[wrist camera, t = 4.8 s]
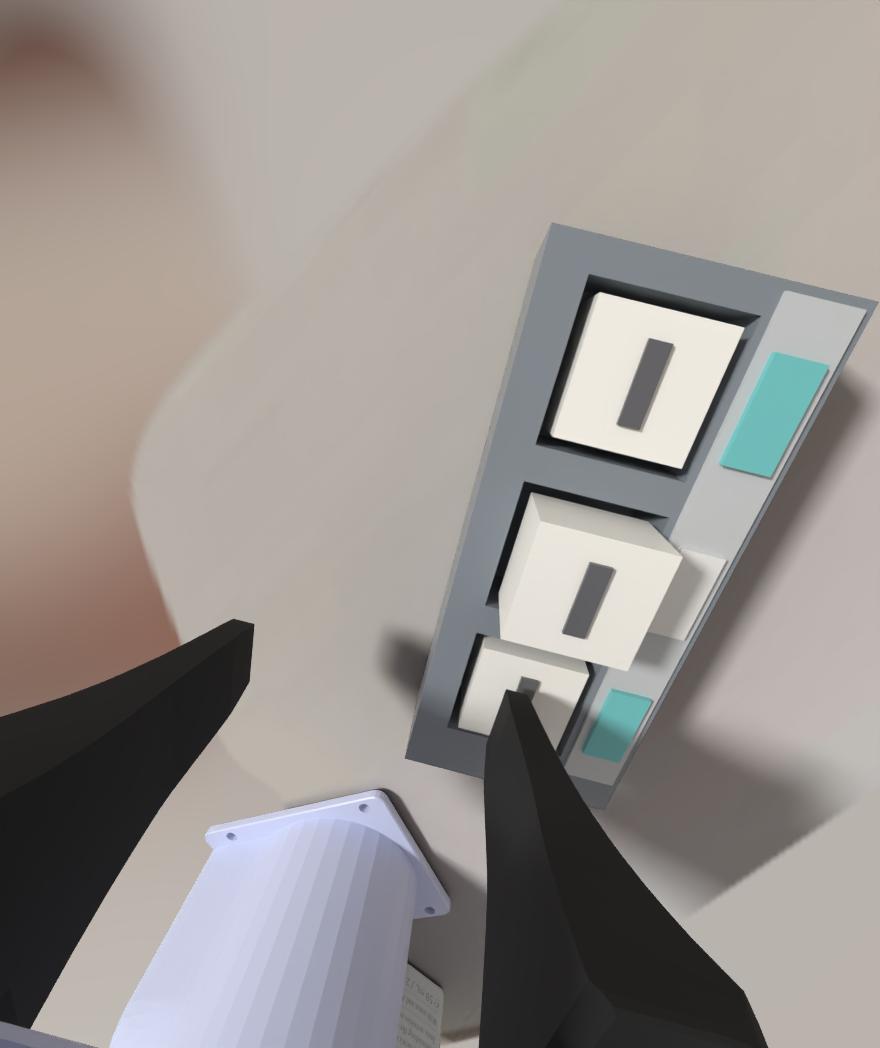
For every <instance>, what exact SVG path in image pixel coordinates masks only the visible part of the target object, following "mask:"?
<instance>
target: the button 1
mask: <svg viewBox="0 0 880 1048" xmlns="http://www.w3.org/2000/svg"><path fill="white" fill-rule="evenodd" d="M588 677H589V672H588V669H587V666H586V663H585V660H581V659H577V658H573V657H569V656H565V655H561V654H557V653H553V652H549V651H546V650H542V649H538V648H534V647H530V646H526V645H522V644H518V643H514V642H510V641H507V640H503V639H499V638H495V637H491V636H487V635H484V634H480V633H477V634H476V637H475V640H474V643H473V646H472V649H471V653H470V656H469V659H468V662H467V665H466V669H465V672H464V675H463V678H462V685H461V698H460V710H459V723H458V728H462V729H466V730H470V731H474V732H478V733H482V734H485V735H490V732H491V729H492V727H493V724H494V721H495V718H496V715H497V713H498V710H499V707H500V704H501V702H502V699H503V696H504V693H505V691H506V689H508V690H512V691H516V692H519V693H523V694H527V695H528V696H529V698H530V700H531V702H532V704H533V706H534V708H535V710H536V713H537V715H538V717H539V719H540V721H541V723H542V725H543V727H544V729H545V731H546V733H547V736H548V738H549V740H550V741H551V743H552V745H553V747H554V749H555V751H556V748H557V746H558V744H559V742H560V739H561V737H562V735H563V733H564V730H565V728H566V726H567V724H568V722H569V719H570V717H571V715H572V713H573V710H574V708H575V706H576V704H577V701H578V699H579V697H580V695H581V693H582V690H583V688H584V686H585V684H586V681H587V679H588Z"/></svg>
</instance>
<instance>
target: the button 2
mask: <svg viewBox="0 0 880 1048" xmlns="http://www.w3.org/2000/svg"><path fill="white" fill-rule="evenodd" d="M743 331H744V327H740V326H736V325H732V324H728V323H724V322H720V321H716V320H711V319H707V318H703V317H699V316H695V315H691V314H687V313H683V312H679V311H675V310H671V309H667V308H662V307H658V306H654V305H650V304H646V303H642V302H638V301H634V300H630V299H626V298H622V297H618V296H613V295H609V294H605V293H601V292H599V293H597V294H596V295H594V296H592V297H591V298H589V299H587V300H586V301H584V302H582V303H581V304H579V308H578V311H577V314H576V317H575V320H574V324H573V327H572V330H571V333H570V336H569V340H568V343H567V346H566V349H565V352H564V356H563V359H562V362H561V365H560V368H559V372H558V375H557V378H556V381H555V384H554V388H553V391H552V394H551V397H550V400H549V404H548V407H547V410H546V413H545V416H544V419H543V423H542V424H543V426H544V427H545V428H546V429H547V430H548V432H549V433H550V434H551V435H552V437H555V438H559V439H563V440H567V441H571V442H575V443H579V444H583V445H587V446H591V447H595V448H600V449H604V450H608V451H612V452H616V453H620V454H624V455H628V456H632V457H636V458H640V459H644V460H648V461H652V462H656V463H660V464H664V465H668V466H672V467H676V468H680V469H682V467H683V465H684V462H685V460H686V458H687V456H688V454H689V451H690V449H691V447H692V445H693V442H694V440H695V438H696V436H697V433H698V431H699V429H700V427H701V424H702V422H703V420H704V418H705V416H706V413H707V411H708V409H709V407H710V404H711V402H712V400H713V398H714V395H715V393H716V391H717V389H718V386H719V384H720V382H721V380H722V378H723V375H724V373H725V371H726V369H727V366H728V364H729V362H730V360H731V357H732V355H733V353H734V351H735V348H736V346H737V344H738V342H739V340H740V337H741V335H742V333H743Z"/></svg>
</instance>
